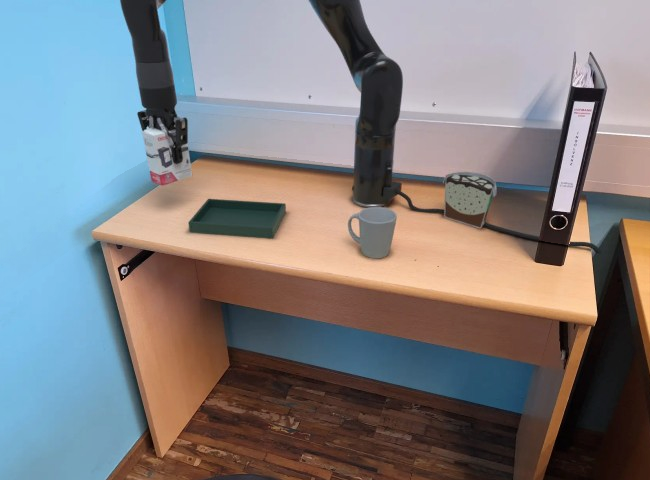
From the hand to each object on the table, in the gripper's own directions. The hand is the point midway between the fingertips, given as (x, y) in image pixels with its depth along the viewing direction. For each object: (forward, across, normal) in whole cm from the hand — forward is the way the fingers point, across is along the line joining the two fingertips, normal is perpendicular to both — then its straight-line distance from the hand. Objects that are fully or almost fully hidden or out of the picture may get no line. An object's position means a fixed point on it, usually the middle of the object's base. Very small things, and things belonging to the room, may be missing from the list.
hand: (168, 160), depth 125 cm
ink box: (+5, 0, 0) cm, 5 cm away
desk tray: (+13, -17, -4) cm, 21 cm away
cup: (+13, -49, -8) cm, 51 cm away
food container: (+13, -60, -34) cm, 70 cm away
